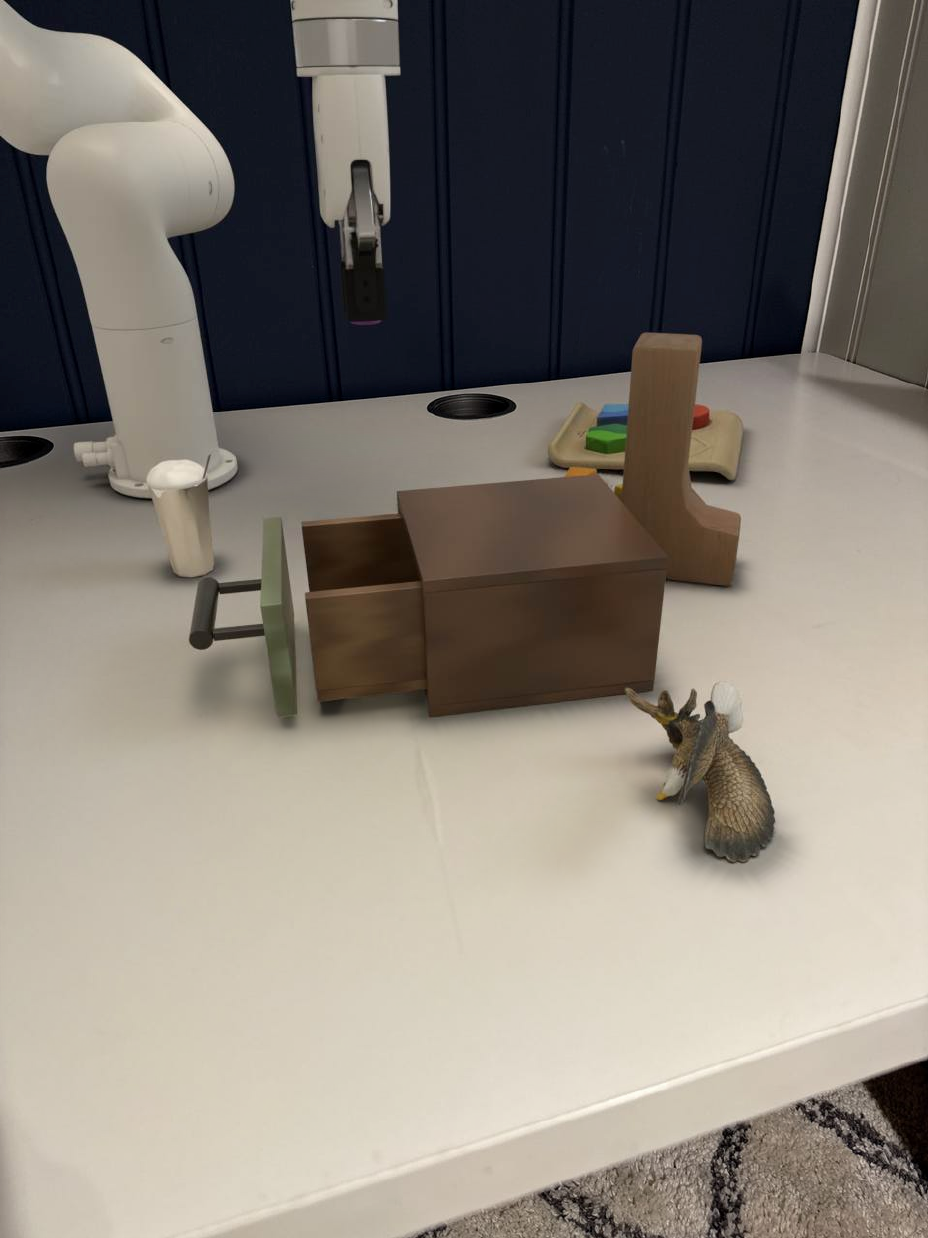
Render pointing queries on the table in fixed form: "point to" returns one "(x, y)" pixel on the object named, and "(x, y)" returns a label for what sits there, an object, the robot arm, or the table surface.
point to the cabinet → (533, 592)
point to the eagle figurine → (715, 770)
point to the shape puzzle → (603, 440)
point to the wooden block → (673, 463)
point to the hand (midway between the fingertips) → (364, 313)
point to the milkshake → (184, 514)
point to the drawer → (333, 610)
